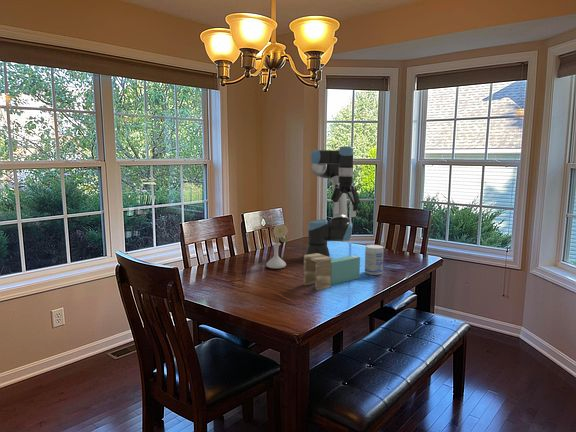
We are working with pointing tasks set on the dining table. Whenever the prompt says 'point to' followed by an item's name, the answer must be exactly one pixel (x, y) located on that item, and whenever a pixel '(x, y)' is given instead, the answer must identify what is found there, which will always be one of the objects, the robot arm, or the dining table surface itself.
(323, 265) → the tunnel
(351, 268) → the beige-capped teal block
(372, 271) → the supplement tub
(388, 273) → the dining table surface
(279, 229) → the flower in vase
